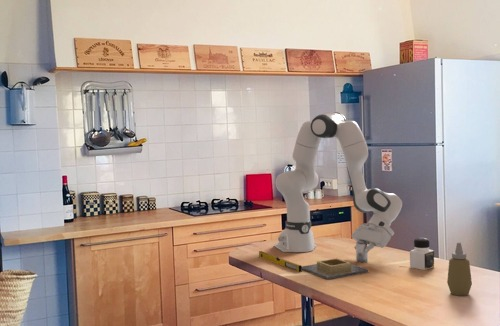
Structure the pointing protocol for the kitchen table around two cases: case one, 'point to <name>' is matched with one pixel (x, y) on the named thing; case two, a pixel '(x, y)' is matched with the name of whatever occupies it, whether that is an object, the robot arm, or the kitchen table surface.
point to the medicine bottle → (421, 255)
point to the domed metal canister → (361, 251)
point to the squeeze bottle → (459, 273)
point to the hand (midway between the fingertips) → (360, 250)
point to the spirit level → (280, 261)
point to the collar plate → (334, 269)
